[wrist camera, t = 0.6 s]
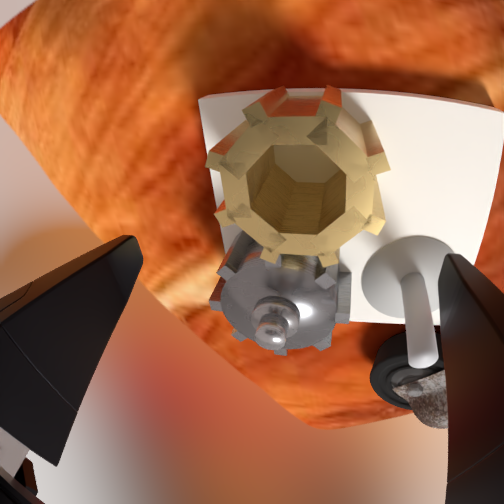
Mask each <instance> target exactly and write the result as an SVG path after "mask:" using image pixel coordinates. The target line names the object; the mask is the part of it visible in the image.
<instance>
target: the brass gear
mask: <svg viewBox="0 0 504 504" xmlns="http://www.w3.org/2000/svg"><path fill="white" fill-rule="evenodd" d="M242 112H243V114H244V115H245V117H246V119H247V120H245V121H244V122H242V123H241V124H240V125H239V126H237V127H236V128H235V129H234V130H233V131H231V132H230V133H229V134H228V135H227V136H225V137H224V138H223V139H222V140H221V141H220V142H218V143H217V144H216V145H215V146H214V147H212V148H211V149H210V150H209V152H208V156H207V161H206V165H205V167H206V168H209V169H212V170H215V171H218V172H220V175H221V181H222V187H223V193H224V200H223V202H222V203H221V205H220V206H219V207H218V209H217V210H216V212H215V213H214V215H215V217H216V218H217V220H218V221H219V223H220V225H221V226H222V228H223V227H226V226H229V225H232V224H234V223H235V224H236V225H237V226H239V227H240V228H241V229H242V230H243V231H245V232H246V233H247V234H248V235H250V236H251V237H252V238H253V239H254V240H256V241H257V242H258V243H259V244H260V245H262V246H263V247H264V248H263V251H262V253H261V256H260V258H261V259H263V260H266V261H269V262H271V263H274V264H275V263H276V261H277V259H278V256H279V254H295V255H310V256H318V257H319V259H320V261H321V264H322V266H323V267H327V266H330V265H334V264H338V263H339V257H340V247H341V246H342V245H344V244H345V243H346V242H348V241H349V240H350V239H352V238H353V237H354V236H356V235H357V234H358V233H360V232H361V231H362V230H366V231H368V232H370V233H373V234H375V235H377V236H378V234H379V232H380V231H381V229H382V227H383V226H384V224H385V222H386V219H385V213H384V208H383V204H382V199H381V194H380V190H379V185H378V181H377V176H376V175H377V174H380V173H383V172H386V171H390V170H391V168H390V166H389V163H388V160H387V157H386V154H385V152H384V149H383V147H382V144H381V141H380V139H379V137H378V134H377V132H376V129H375V127H374V125H373V122H372V120H370V121H367V122H364V123H361V124H360V123H359V122H358V121H357V120H356V119H355V118H354V117H353V116H351V115H350V114H349V113H348V112H347V111H346V110H345V109H344V108H343V107H342V99H341V90H340V89H337V88H335V87H332V86H330V85H327V86H326V88H325V91H324V93H323V96H289V94H288V92H287V90H286V88H285V86H284V85H283V86H281V87H278V88H276V89H274V90H272V91H270V92H268V93H267V94H265V95H264V96H262V97H261V98H259V99H258V100H256V101H254V102H253V103H251V104H250V105H248V106H247V107H245V108H244V109H242ZM274 145H316V146H317V147H318V148H319V149H321V150H322V151H323V152H324V153H325V154H326V155H327V156H328V157H329V158H330V159H331V160H332V161H333V162H334V163H335V164H336V165H337V166H338V167H339V168H340V170H339V171H338V172H337V173H336V174H334V175H333V176H332V177H331V178H330V179H329V180H328V181H327V182H325V183H312V182H296V181H295V180H293V179H292V178H291V177H290V176H289V175H288V174H287V173H286V172H284V171H283V170H282V169H281V168H280V167H279V166H278V165H276V164H275V155H274Z"/></svg>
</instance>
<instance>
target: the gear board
mask: <svg viewBox="0 0 504 504" xmlns="http://www.w3.org/2000/svg"><path fill="white" fill-rule="evenodd" d="M337 89H340V90H341V99H342V107H343V108H344V109H345V110H346V111H347V112H348V113H349V114H350V115H351V116H353V117H354V118H355V119H356V120H357V121H358V122H359V123H360V124H361V123H364V122H367V121H370V120H372V122H373V125H374V127H375V129H376V132H377V134H378V137H379V139H380V141H381V144H382V147H383V149H384V152H385V154H386V157H387V160H388V163H389V166H390V168H391V170H390V171H386V172H383V173H380V174H377V175H376V176H377V181H378V185H379V190H380V194H381V199H382V204H383V208H384V213H385V219H386V222H385V224H384V226H383V227H382V229H381V231H380V232H379V234H378V236H377V235H375V234H373V233H370V232H368V231H366V230H362V231H361V232H360V233H358V234H357V235H356V236H354V237H353V238H352V239H350V240H349V241H348V242H346V243H345V244H344V245H342V246H341V247H340V257H339V263H338V264H339V268H340V272H352V282H351V309H350V319H349V321H358V322H375V323H394V324H405V325H406V336H407V348H408V362H409V365H410V366H412V367H414V368H426V367H429V366H431V365H433V364H434V363H435V362H436V361H437V360H438V349H437V342H436V336H435V330H434V325H440V311H439V296H438V278H439V274H440V271H441V267H442V264H443V260H444V257H445V255H446V254H447V253H456V254H461V255H462V256H463V257H464V258H466V259H467V260H468V261H469V262H470V263H471V264H472V265H474V263H475V260H476V257H477V254H478V251H479V248H480V244H481V241H482V238H483V234H484V231H485V227H486V224H487V220H488V216H489V212H490V208H491V204H492V200H493V196H494V191H495V187H496V182H497V177H498V171H499V166H500V160H501V154H502V147H503V140H504V112H503V111H501V110H499V109H497V108H495V107H491V106H487V105H482V104H477V103H472V102H467V101H461V100H456V99H450V98H443V97H437V96H430V95H422V94H414V93H405V92H394V91H382V90H367V89H343V88H337ZM272 90H274V89H269V90H253V91H241V92H230V93H221V94H212V95H207V96H205V97H203V98H200V99H198V102H199V108H200V114H201V120H202V126H203V132H204V138H205V144H206V150H207V156H208V152H209V150H210V149H211V148H212V147H214V146H215V145H216V144H217V143H218V142H220V141H221V140H222V139H223V138H224V137H225V136H227V135H228V134H229V133H230V132H231V131H233V130H234V129H235V128H236V127H237V126H239V125H240V124H241V123H242V122H244V121H245V120H247V119H246V117H245V115H244V114H243V112H242V109H244V108H245V107H247V106H248V105H250V104H251V103H253V102H254V101H256V100H258V99H259V98H261V97H262V96H264V95H265V94H267V93H268V92H270V91H272ZM286 90H287V92H288V94H289V96H323V93H324V91H325V88H293V89H286ZM274 155H275V164H276V165H278V166H279V167H280V168H281V169H282V170H283V171H284V172H286V173H287V174H288V175H289V176H290V177H291V178H292V179H293V180H295V181H296V182H312V183H325V182H327V181H328V180H329V179H330V178H331V177H332V176H333V175H334V174H336V173H337V172H338V171H339V170H340V168H339V167H338V166H337V165H336V164H335V163H334V162H333V161H332V160H331V159H330V158H329V157H328V156H327V155H326V154H325V153H324V152H323V151H322V150H321V149H319V148H318V147H317V146H316V145H274ZM210 173H211V179H212V184H213V190H214V195H215V201H216V206H217V209H218V207H219V206H220V205H221V203H222V202H223V200H224V193H223V187H222V181H221V175H220V172H218V171H215V170H212V169H210ZM220 228H221V233H222V238H223V244H224V249H225V254H227V252H228V250H229V248H230V246H231V244H232V242H233V241H234V239H235V237H236V236H237V235H238V234H239V233H240V232H241V231H242V229H241V228H240V227H239V226H237V225H236V224H235V223H234V224H232V225H229V226H226V227H223V228H222V226H221V225H220Z"/></svg>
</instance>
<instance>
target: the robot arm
mask: <svg viewBox="0 0 504 504" xmlns="http://www.w3.org/2000/svg"><path fill="white" fill-rule="evenodd" d="M142 264H143V255H142V252H141V250H140V247H139V244H138V241H137V239H136V237H135V236H133V235H122V236H120V237H118V238H116V239H114V240H111V241H109V242H107V243H105V244H103V245H101V246H99V247H97V248H95V249H93V250H91V251H89V252H87V253H85V254H83V255H81V256H80V257H77V258H76V259H73V260H72V261H70V262H68V263H66V264H64V265H62V266H60V267H58V268H56V269H54V270H52V271H50V272H49V273H47V274H45V275H43V276H41V277H39V278H38V279H36V280H34V281H32V282H30V283H28V284H27V285H25V286H23V287H21V288H19V289H17V290H16V291H14V292H12V293H10V294H8V295H6V296H4V297H2V298H1V299H0V504H45V503H43V502H42V501H41V500H40V499H38V498H37V497H36V495H37V493H38V489H37V485H36V480H35V475H34V469H33V463H32V462H31V461H30V460H29V459H28V458H26V454H27V453H28V451H29V450H31V451H33V452H34V453H36V454H37V455H39V456H40V457H42V458H44V459H45V460H46V461H48V462H49V463H51V464H53V465H54V466H57V465H58V463H59V461H60V458H61V455H62V452H63V450H64V447H65V444H66V442H67V439H68V436H69V433H70V431H71V428H72V426H73V423H74V421H75V418H76V415H77V411H78V410H79V407H80V405H81V403H82V400H83V397H84V395H85V393H86V391H87V388H88V386H89V383H90V381H91V379H92V377H93V374H94V372H95V370H96V367H97V365H98V363H99V361H100V358H101V356H102V354H103V352H104V350H105V348H106V345H107V343H108V341H109V339H110V337H111V335H112V333H113V331H114V329H115V327H116V324H117V322H118V320H119V318H120V316H121V314H122V312H123V310H124V308H125V306H126V304H127V302H128V299H129V297H130V294H131V292H132V289H133V287H134V284H135V282H136V279H137V277H138V274H139V272H140V269H141V267H142ZM438 296H439V311H440V332H441V343H442V350H443V359H444V368H445V379H446V392H447V409H448V473H447V488H446V500H445V504H504V293H503V292H501V291H500V290H499V289H498V288H497V287H496V286H495V285H494V284H493V283H492V282H491V281H490V280H489V279H488V278H487V277H486V276H485V275H483V274H482V273H481V272H480V271H479V270H478V269H477V268H476V267H475V266H474V265H472V264H471V263H470V262H469V261H468V260H467V259H466V258H464V257H463V256H462V255H461V254H456V253H447V254H446V255H445V257H444V260H443V264H442V267H441V271H440V274H439V278H438Z"/></svg>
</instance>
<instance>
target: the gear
mask: <svg viewBox="0 0 504 504" xmlns="http://www.w3.org/2000/svg"><path fill="white" fill-rule="evenodd" d="M263 248H264V247H263V246H262V245H260V244H259V243H258V242H257V241H256V240H254V239H253V238H252V237H251V236H250V235H248V234H247V233H246V232H245V231H243V230H242V231H241V232H240V233H239V234H238V235H237V236H236V237H235V239H234V241H233V242H232V244H231V246H230V248H229V250H228V252H227V254H226V256H225V258H224V259H223V261H222V263H221V265H220V267H219V269H218V271H217V274H218V275H220V276H221V277H220V279H219V281H218V283H217V285H216V287H215V289H214V291H213V293H212V295H211V297H210V299H209V303H210V306H211V310H216V311H223V313H224V315H225V317H226V318H227V320H228V321H229V322H230V324H231V325H232V326H233V327H234V329H233V331H232V334H231V335H232V336H233V337H235V338H236V339H238V340H239V341H243V340H245V339H246V338H249V339H251V340H253V341H255V342H256V343H257V344H258V345H259V346H261V347H263V348H265V349H269V350H274V354H277V355H285V356H287V352H288V349H298V348H304V347H308V346H312V345H313V346H314V347H316V348H317V349H319V350H320V351H322V350H324V349H326V348H328V347H330V346H331V337H332V330H333V328H334V326H335V324H336V323H344V324H349V319H350V309H351V282H352V272H340V268H339V264H334V265H330V266H327V267H323V266H322V264H321V261H320V259H319V257H318V256H310V255H295V254H279V256H278V259H277V261H276V263H275V264H274V263H271V262H269V261H266V260H263V259H261V258H260V256H261V253H262V251H263Z"/></svg>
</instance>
